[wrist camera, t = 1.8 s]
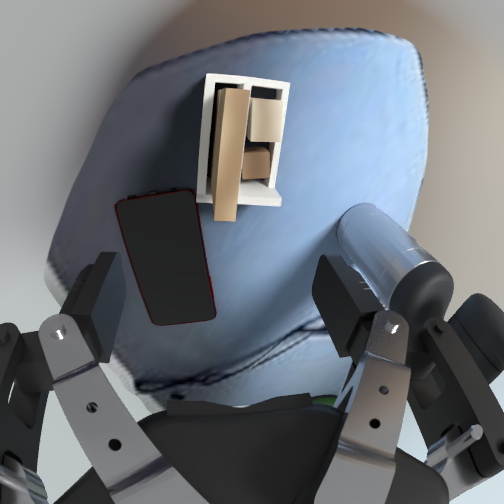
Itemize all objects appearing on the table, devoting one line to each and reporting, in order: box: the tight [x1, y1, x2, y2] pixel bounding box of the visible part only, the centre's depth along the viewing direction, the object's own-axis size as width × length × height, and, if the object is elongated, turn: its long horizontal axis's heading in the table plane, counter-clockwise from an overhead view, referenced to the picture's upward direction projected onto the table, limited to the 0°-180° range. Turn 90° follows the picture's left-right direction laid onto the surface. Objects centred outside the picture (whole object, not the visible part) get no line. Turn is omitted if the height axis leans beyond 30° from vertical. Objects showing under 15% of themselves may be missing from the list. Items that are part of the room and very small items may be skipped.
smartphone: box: [115, 188, 216, 326], centre depth 44 cm, size 12×2×25 cm
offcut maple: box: [247, 98, 283, 142], centre depth 31 cm, size 3×5×3 cm
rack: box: [196, 74, 290, 206], centre depth 32 cm, size 10×15×7 cm, turn 173°
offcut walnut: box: [241, 146, 270, 179], centre depth 36 cm, size 3×3×4 cm
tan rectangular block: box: [210, 88, 250, 221], centre depth 28 cm, size 2×11×16 cm, turn 173°
